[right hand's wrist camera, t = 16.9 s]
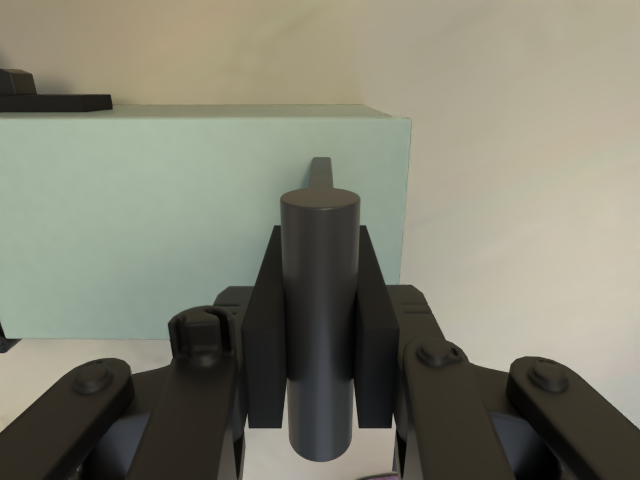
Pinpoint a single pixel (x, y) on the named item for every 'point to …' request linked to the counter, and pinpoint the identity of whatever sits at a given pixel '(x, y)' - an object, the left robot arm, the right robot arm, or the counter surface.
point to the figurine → (386, 478)
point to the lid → (203, 233)
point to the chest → (216, 111)
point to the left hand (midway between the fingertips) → (118, 206)
